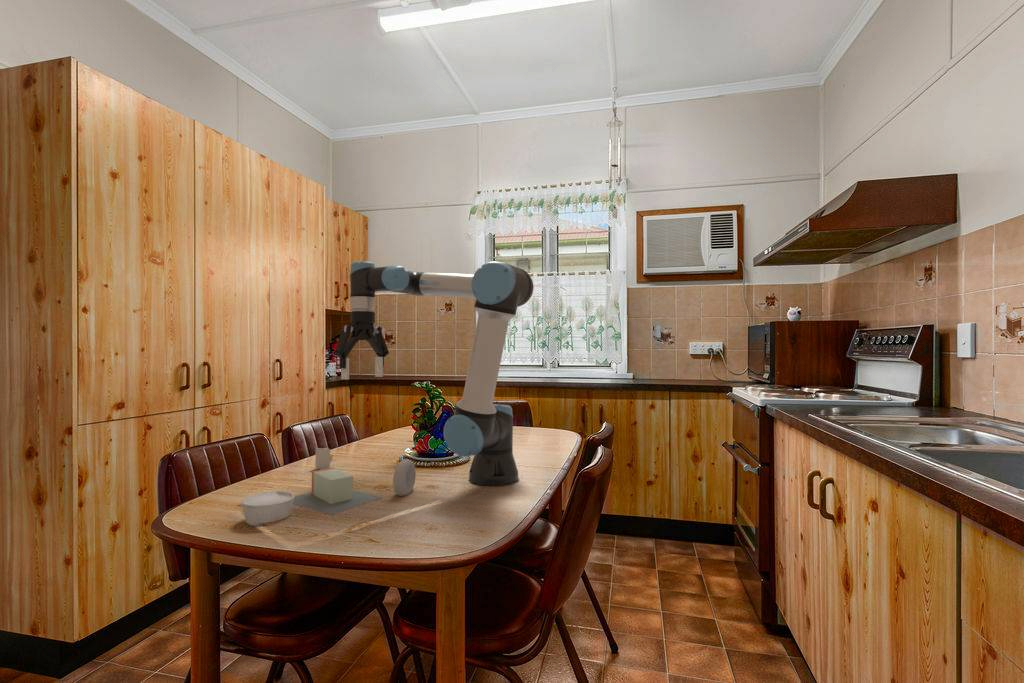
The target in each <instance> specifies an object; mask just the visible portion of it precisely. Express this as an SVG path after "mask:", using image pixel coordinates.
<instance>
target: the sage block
mask: <svg viewBox="0 0 1024 683" xmlns="http://www.w3.org/2000/svg"><path fill="white" fill-rule="evenodd" d="M353 490H354V476H353V475H352V474H349V473H347V472H345V471H342V470H340V469H338V468H335V467H330V468H328V469H322V470H318V469H316V470H313V471H311V492H312V494H313V495H315V496H317V497H319V498H321V499H322V500H324V501H326V502H328V503H330V504H333V503H337V502H342V501H346V500H350V499H353Z"/></svg>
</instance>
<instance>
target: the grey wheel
mask: <svg viewBox="0 0 1024 683" xmlns="http://www.w3.org/2000/svg"><path fill="white" fill-rule="evenodd" d="M416 477H417V474H416V467H415V463H414V462H413V461H412V460H410V459H407V458H406V459H402V460H401V461H399V462H398V463H397V465H396V467H395V470H394V471H393V478H392V486H393V491H394V493H395V494H396V496H400V497H404V496H407V495H409V494H411V492H412V491H413V489H414V486H415V482H416Z"/></svg>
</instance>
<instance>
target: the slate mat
mask: <svg viewBox="0 0 1024 683" xmlns="http://www.w3.org/2000/svg"><path fill="white" fill-rule="evenodd" d="M379 499H383V496H380V495H375V494H372V493H367V492H363V491H359V490H354V489H353V499H350V500H346V501H342V502H337V503H333V504H330V503H328V502H326V501H324V500H322V499H321V498H319V497H317V496H315V495H313V494H312V491H310V492H306V493H303V494H299V495H295V500H294V502H293V505H296V506H298V507H299V506H300V507H303V508H307V509H311V510H312V511H313V510H314V511H317V512H319V513H322V514H327V515H331V516H334V515H336V514H340V513H342V512H344V511H348V510H351V509H353V508H356V507H359V506H362V505H365V504H368V503H370V502H373V501H378V500H379Z"/></svg>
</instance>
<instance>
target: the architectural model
mask: <svg viewBox="0 0 1024 683" xmlns="http://www.w3.org/2000/svg"><path fill="white" fill-rule="evenodd" d="M339 460H340V458H338V457H333V455H332V454H331V448H328V447H325V448H321V447H315V466H314V468H316V469H315V470H318V469H328V468H331V462H333V463H334V462H337V461H339Z"/></svg>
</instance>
